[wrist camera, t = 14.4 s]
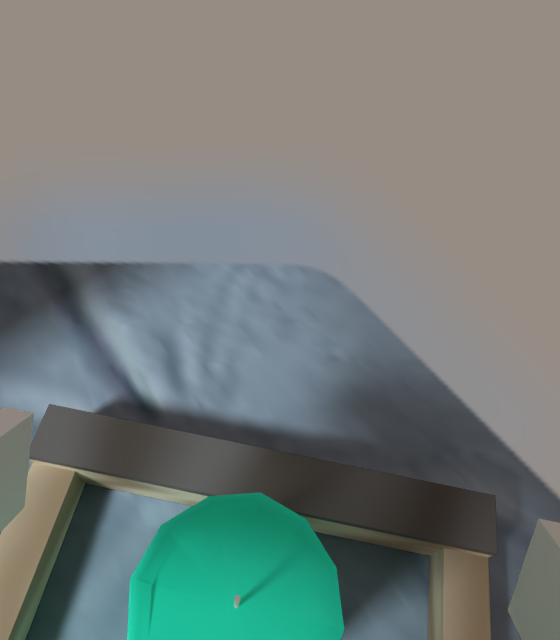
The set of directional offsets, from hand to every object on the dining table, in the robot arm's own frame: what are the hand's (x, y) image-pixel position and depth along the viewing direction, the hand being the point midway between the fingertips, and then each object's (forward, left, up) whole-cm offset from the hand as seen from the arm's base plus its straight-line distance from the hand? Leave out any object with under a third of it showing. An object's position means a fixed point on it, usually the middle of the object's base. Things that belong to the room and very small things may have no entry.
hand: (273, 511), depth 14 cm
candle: (0, -2, -13) cm, 13 cm away
